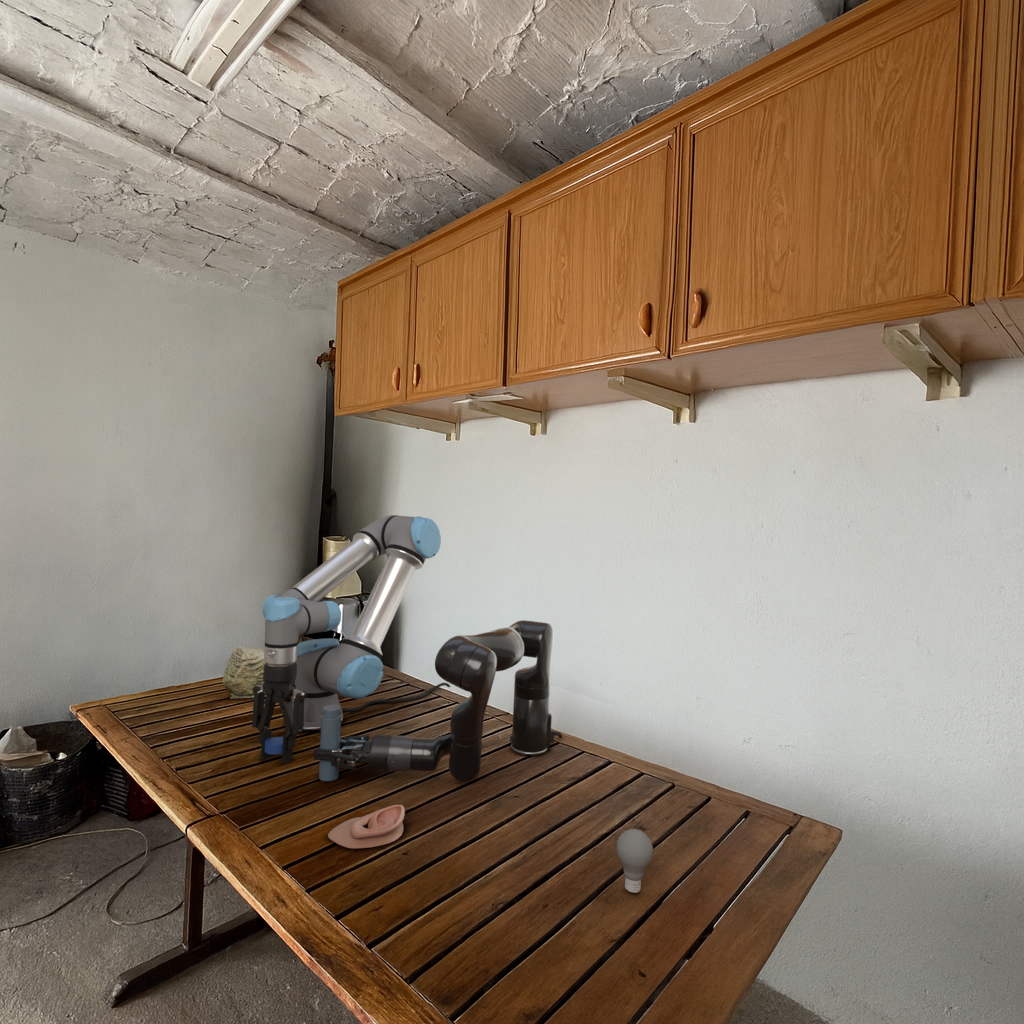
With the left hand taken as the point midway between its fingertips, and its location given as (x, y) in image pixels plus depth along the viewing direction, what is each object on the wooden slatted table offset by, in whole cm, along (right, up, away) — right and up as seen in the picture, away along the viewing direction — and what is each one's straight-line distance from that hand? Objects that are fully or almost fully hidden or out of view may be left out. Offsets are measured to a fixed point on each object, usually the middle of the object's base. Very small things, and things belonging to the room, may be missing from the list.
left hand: (276, 759), depth 151 cm
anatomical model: (+29, -2, -31) cm, 43 cm away
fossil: (-24, +2, +47) cm, 53 cm away
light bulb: (+76, -4, -45) cm, 89 cm away
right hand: (+12, +5, -8) cm, 16 cm away
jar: (+15, -1, -8) cm, 17 cm away
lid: (0, +4, 0) cm, 4 cm away
